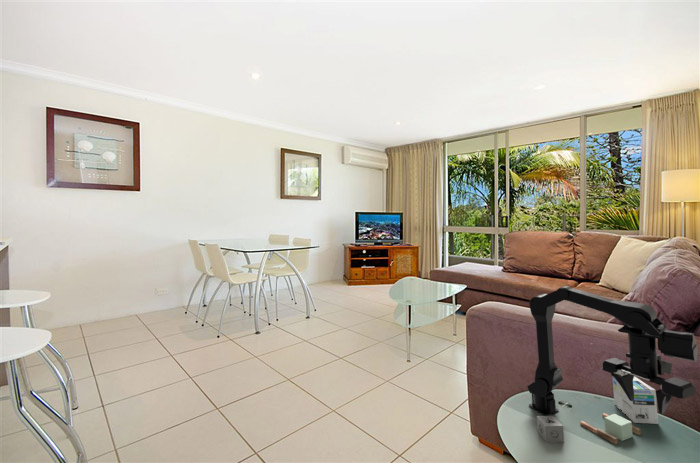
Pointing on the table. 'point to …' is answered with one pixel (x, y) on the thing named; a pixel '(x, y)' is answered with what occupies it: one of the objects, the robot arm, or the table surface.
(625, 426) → the sage block
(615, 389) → the light bulb box
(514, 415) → the table surface
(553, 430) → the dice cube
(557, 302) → the robot arm
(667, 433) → the table surface
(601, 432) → the pair of wooden sticks
